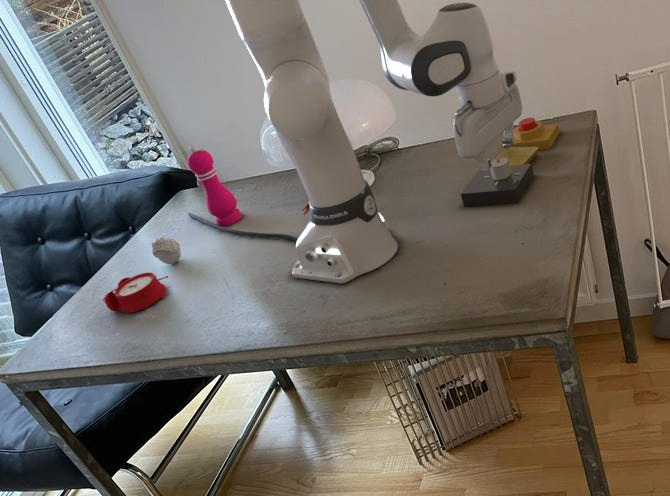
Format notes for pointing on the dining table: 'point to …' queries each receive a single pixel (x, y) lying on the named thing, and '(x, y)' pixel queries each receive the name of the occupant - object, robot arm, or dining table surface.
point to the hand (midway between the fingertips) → (498, 157)
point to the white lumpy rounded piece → (166, 250)
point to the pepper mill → (213, 188)
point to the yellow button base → (535, 136)
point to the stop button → (527, 124)
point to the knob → (500, 168)
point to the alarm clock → (135, 293)
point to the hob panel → (497, 187)
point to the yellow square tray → (519, 155)
